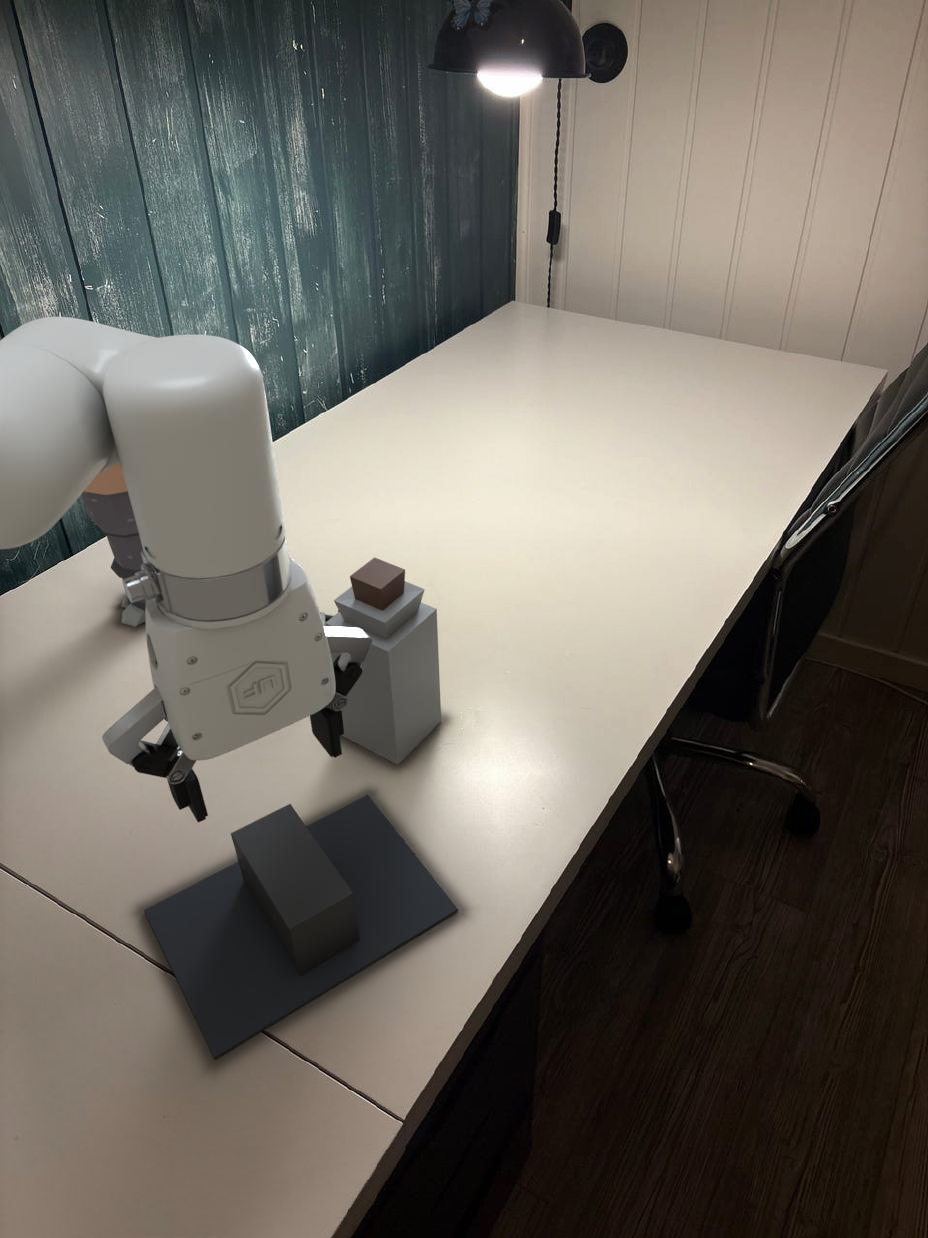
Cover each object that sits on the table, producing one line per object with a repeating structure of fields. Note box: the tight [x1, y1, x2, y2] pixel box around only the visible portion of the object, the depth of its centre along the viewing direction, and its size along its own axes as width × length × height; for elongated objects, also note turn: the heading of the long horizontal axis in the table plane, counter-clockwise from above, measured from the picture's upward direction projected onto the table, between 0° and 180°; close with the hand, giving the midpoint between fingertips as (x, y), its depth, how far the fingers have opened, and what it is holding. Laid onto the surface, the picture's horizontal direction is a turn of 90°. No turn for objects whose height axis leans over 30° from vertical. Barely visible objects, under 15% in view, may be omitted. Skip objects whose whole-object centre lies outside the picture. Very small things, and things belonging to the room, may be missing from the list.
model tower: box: [81, 464, 146, 628], centre depth 93 cm, size 10×11×30 cm
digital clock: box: [230, 803, 360, 976], centre depth 69 cm, size 10×5×6 cm, turn 35°
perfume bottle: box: [325, 557, 442, 766], centre depth 81 cm, size 7×7×18 cm
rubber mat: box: [143, 794, 459, 1060], centre depth 71 cm, size 20×14×1 cm
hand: (263, 774), depth 61 cm, fingers open, 9 cm apart
